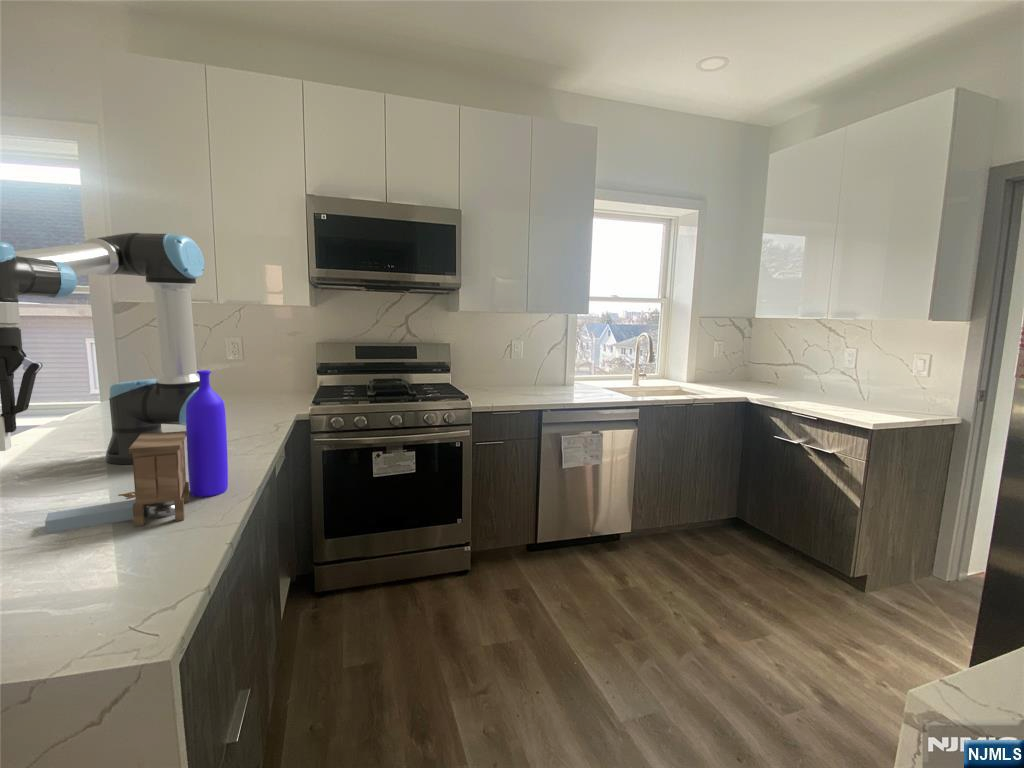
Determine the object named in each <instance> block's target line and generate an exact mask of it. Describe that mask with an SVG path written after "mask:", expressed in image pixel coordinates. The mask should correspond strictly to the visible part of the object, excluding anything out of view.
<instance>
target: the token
mask: <svg viewBox="0 0 1024 768" xmlns="http://www.w3.org/2000/svg"><path fill="white" fill-rule="evenodd" d="M145 510H146V511H145V512H146V517H147V518H149V517H151V518H150V519H163V517H164V518H169V517H172V516H175V506H174V501H169V502H160V503H152V504H150V505H148V506H147V507H146V508H145Z"/></svg>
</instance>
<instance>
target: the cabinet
mask: <svg viewBox="0 0 1024 768" xmlns="http://www.w3.org/2000/svg"><path fill="white" fill-rule="evenodd" d="M186 439H187V435H186V430H183V431H182V430H181V431H167V432H163V433H148V434H140V436H139V437H138V438H137V439H136V440H135V442H134V443H133V444H132V445H131V446H130V448H129V454H132V453H133V464H132V467H133V480H134V482H133V483H134V485H133V486H134V492H135V494H134V495H135V497H134V500H136V503H134V504H133V517H134V519H133V527H134V528H135V527H143V526H144V524H145V512H144V511H145V509H146V507H147V506H148V505H150V504H152V503H160V502H169V501H174V506H175V515H174V520H175V522H180V521H184V520H185V518H186V517H185V504H189V502H190V486H189V481H187V475H186V455H185V440H186Z"/></svg>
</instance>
